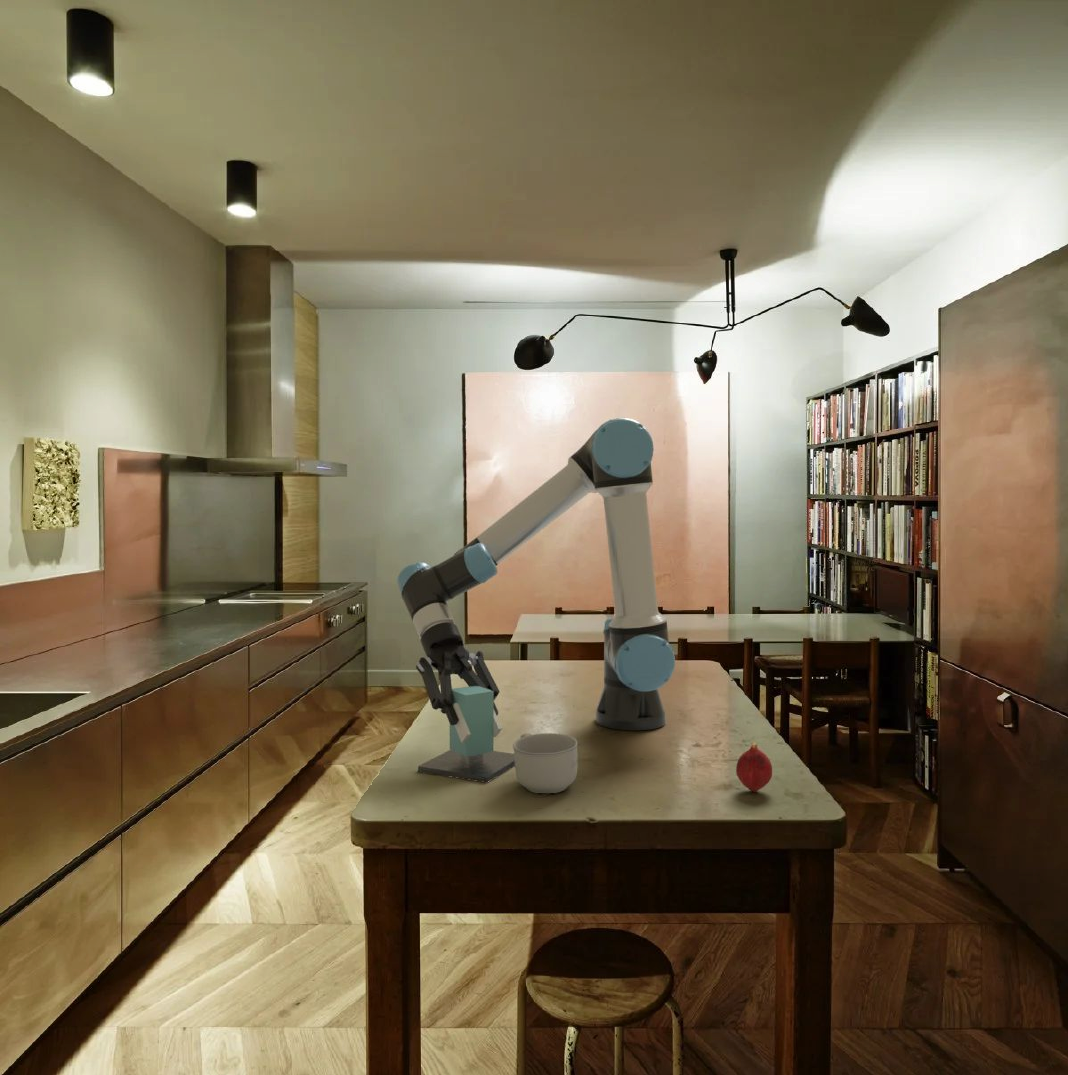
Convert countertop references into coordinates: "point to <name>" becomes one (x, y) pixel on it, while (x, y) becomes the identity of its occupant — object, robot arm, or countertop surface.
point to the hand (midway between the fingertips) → (482, 735)
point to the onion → (754, 769)
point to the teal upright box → (474, 720)
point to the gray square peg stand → (469, 765)
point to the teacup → (546, 761)
